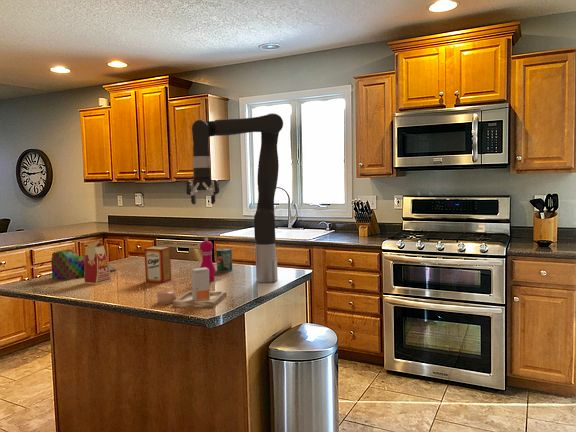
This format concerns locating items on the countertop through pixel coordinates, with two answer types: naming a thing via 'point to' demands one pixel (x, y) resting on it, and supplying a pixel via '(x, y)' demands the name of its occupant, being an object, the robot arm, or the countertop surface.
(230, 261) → the canned tomato
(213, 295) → the maple tray
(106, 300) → the countertop surface
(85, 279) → the milk carton
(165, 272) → the baking soda box
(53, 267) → the rainbow checkered teapot
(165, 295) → the tan rounded blob
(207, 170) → the robot arm
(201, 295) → the skincare box
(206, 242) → the pepper mill
